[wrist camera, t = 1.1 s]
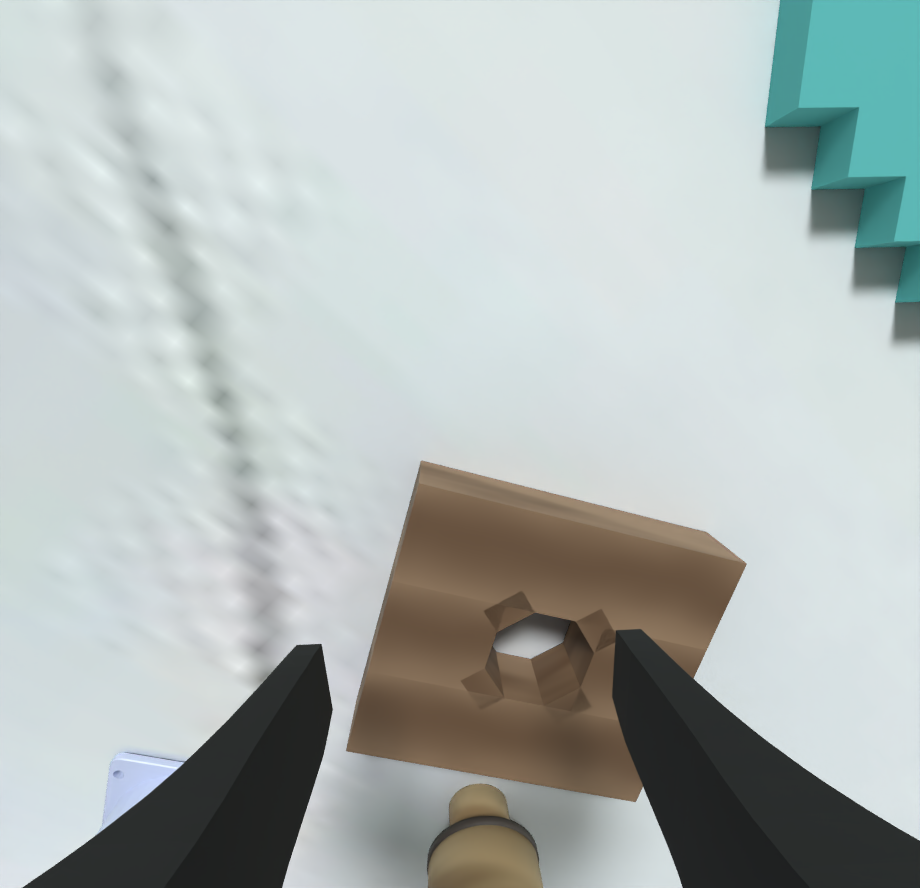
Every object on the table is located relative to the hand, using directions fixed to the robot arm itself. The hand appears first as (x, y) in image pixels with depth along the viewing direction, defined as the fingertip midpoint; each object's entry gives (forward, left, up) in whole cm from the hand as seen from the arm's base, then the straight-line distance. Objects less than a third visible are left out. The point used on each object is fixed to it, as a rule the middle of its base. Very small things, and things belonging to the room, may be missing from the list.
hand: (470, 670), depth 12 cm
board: (-5, -5, -10) cm, 12 cm away
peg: (-17, -6, -10) cm, 21 cm away
